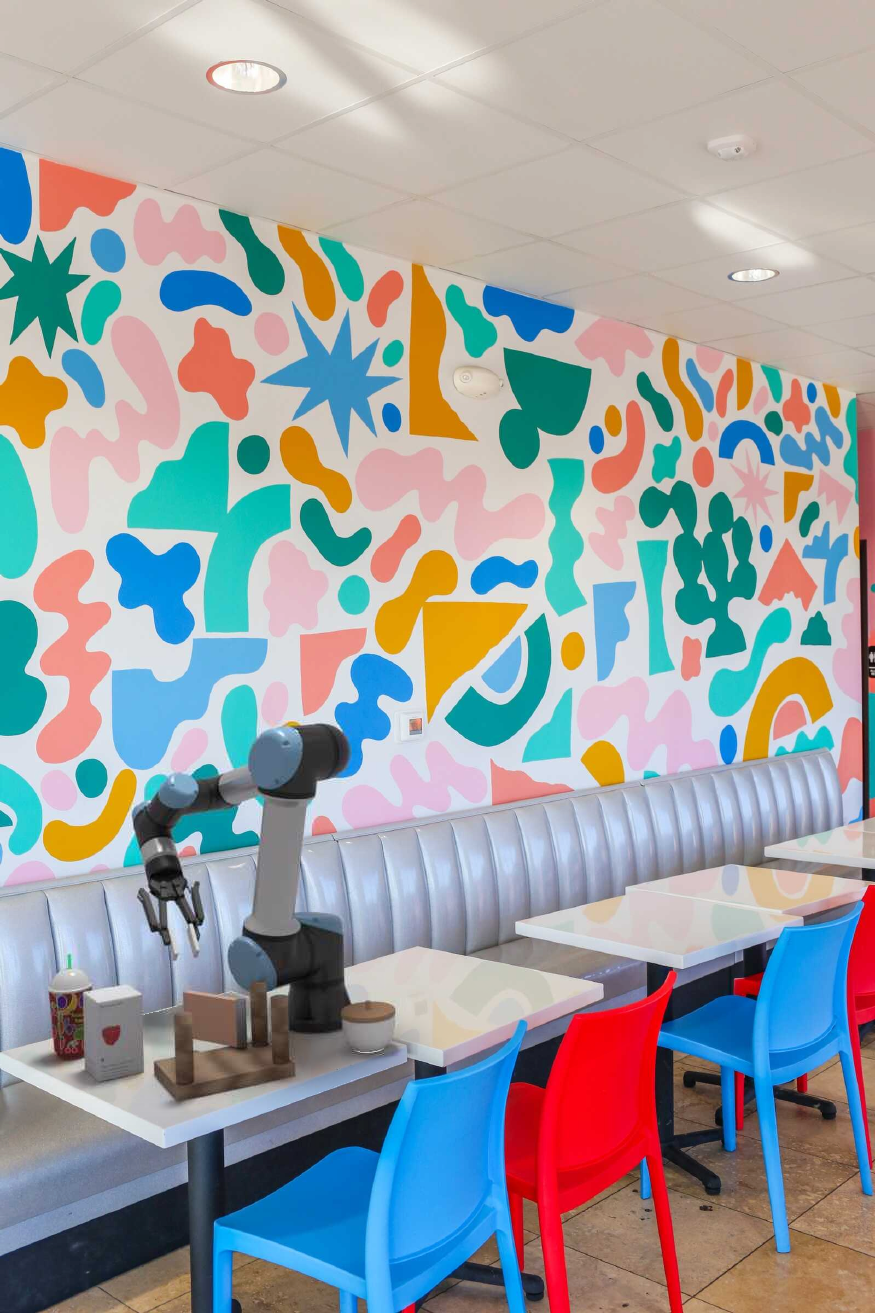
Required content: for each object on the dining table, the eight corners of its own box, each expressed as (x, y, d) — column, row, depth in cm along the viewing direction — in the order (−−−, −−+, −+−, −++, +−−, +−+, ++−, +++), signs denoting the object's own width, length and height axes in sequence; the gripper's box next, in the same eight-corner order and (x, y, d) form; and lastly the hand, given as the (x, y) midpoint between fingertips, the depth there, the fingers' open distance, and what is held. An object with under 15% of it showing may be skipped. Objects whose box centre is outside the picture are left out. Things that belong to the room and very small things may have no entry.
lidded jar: (332, 1047, 231) (330, 1000, 231) (377, 1036, 237) (376, 990, 237) (360, 1062, 222) (358, 1012, 222) (407, 1049, 228) (405, 1001, 228)
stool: (265, 1051, 230) (262, 978, 230) (295, 1076, 216) (292, 998, 216) (154, 1074, 219) (151, 997, 219) (178, 1101, 205) (175, 1019, 205)
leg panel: (249, 1046, 225) (248, 999, 225) (242, 1049, 223) (241, 1002, 223) (190, 1034, 233) (189, 989, 233) (183, 1037, 231) (182, 992, 231)
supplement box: (97, 1083, 215) (95, 1002, 215) (83, 1070, 223) (81, 991, 223) (145, 1072, 220) (143, 993, 220) (130, 1059, 228) (127, 983, 228)
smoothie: (81, 1063, 226) (77, 960, 226) (42, 1061, 228) (38, 959, 228) (102, 1048, 235) (98, 949, 235) (64, 1047, 236) (60, 948, 236)
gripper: (196, 869, 260) (222, 959, 245) (120, 878, 252) (142, 972, 237) (202, 848, 255) (229, 939, 241) (125, 857, 247) (148, 951, 232)
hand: (186, 955), depth 239 cm, fingers open, 4 cm apart
